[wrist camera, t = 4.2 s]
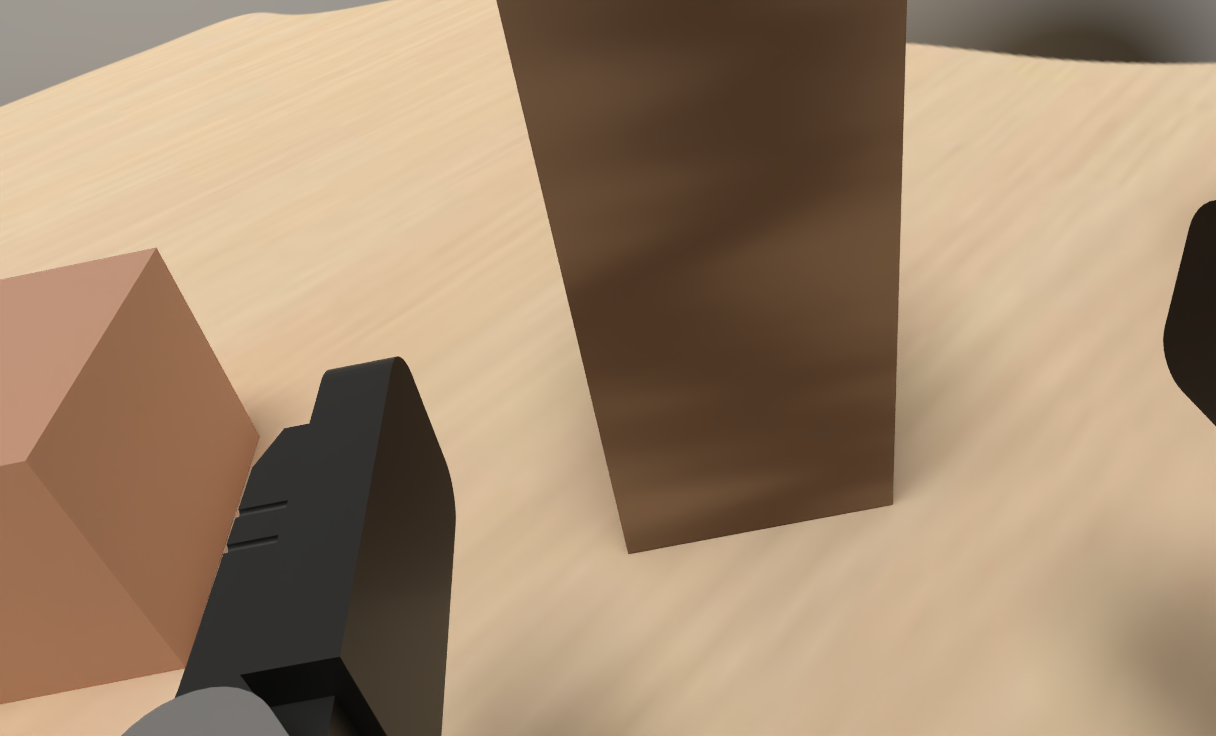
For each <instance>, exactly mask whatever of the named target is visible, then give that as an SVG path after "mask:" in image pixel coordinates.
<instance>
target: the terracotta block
mask: <svg viewBox="0 0 1216 736" xmlns="http://www.w3.org/2000/svg"><path fill="white" fill-rule="evenodd" d="M259 437H260V436H259V434H258V433H257V431H256V429H255V427H254V425H253V423H252V422H251V420H250V418H249V416H248V414H247V412H246V411H245V409H244V407H243V405H242V403H241V402H240V400H239V398H238V396H237V394H236V392H235V391H234V389H233V387H232V385H231V383H230V381H229V380H228V378H227V376H226V374H225V372H224V370H223V369H222V367H221V365H220V363H219V361H218V359H217V358H216V356H215V354H214V352H213V350H212V348H211V347H210V345H209V343H208V341H207V339H206V337H205V336H204V334H203V332H202V330H201V328H200V326H199V325H198V323H197V321H196V319H195V317H194V315H193V314H192V312H191V310H190V308H189V306H188V304H187V303H186V301H185V299H184V297H183V295H182V294H181V292H180V290H179V288H178V286H177V284H176V283H175V281H174V279H173V277H172V275H171V273H170V272H169V270H168V268H167V266H166V264H165V262H164V261H163V259H162V257H161V255H160V253H159V251H158V250H157V248H153V249H148V250H143V251H138V252H133V253H128V254H123V255H119V256H114V257H109V258H104V259H99V260H94V261H89V262H85V263H80V264H75V265H70V266H65V267H60V268H55V269H50V270H46V271H41V272H36V273H31V274H26V275H21V276H16V277H11V278H7V279H2V280H0V704H4V703H9V702H14V701H19V700H25V699H30V698H35V697H40V696H45V695H50V694H55V693H61V692H66V691H71V690H76V689H81V688H86V687H91V686H96V685H102V684H107V683H112V682H117V681H122V680H127V679H132V678H138V677H143V676H148V675H153V674H158V673H163V672H168V671H173V670H179V669H184V668H186V665H187V662H188V659H189V656H190V653H191V650H192V647H193V644H194V641H195V638H196V635H197V632H198V629H199V625H200V622H201V619H202V616H203V613H204V610H205V607H206V603H207V600H208V597H209V594H210V591H211V588H212V585H213V581H214V578H215V575H216V572H217V569H218V566H219V563H220V559H221V556H222V553H223V550H224V547H225V544H226V541H227V537H228V534H229V531H230V528H231V525H232V522H233V518H234V515H235V512H236V509H237V506H238V503H239V500H240V496H241V493H242V490H243V487H244V484H245V481H246V478H247V474H248V471H249V468H250V465H251V462H252V459H253V456H254V452H255V449H256V446H257V443H258V440H259Z"/></svg>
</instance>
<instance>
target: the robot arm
mask: <svg viewBox="0 0 1216 736" xmlns="http://www.w3.org/2000/svg"><path fill="white" fill-rule="evenodd" d="M1163 344H1164V353H1165V358H1166V362H1167V365H1168V368H1169V370H1170V373H1171V375H1172V377H1173V379H1174V381H1175V382H1176V384H1177V385H1178V387H1179V388H1180V389H1181V390H1182V391H1183V392H1184V393H1185V395H1186V396H1187V397H1188V398H1189V399H1190V400H1191V401H1192V402H1193V403H1194V404H1195V405H1196V406H1197V407H1198V408H1199V409H1200V410H1201V411H1202V412H1203V413H1204V414H1205V415H1206V416H1207V417H1208V418H1209V420H1210V421H1211V422H1212V423H1213V424H1214V425H1215V426H1216V200H1215V201H1210V202H1208V203H1206V204H1204V205H1203V206H1202V207H1200V208H1199V209H1198V211H1197V212H1196V213H1195V215H1194V217H1193V219H1192V221H1191V224H1190V227H1189V231H1188V235H1187V239H1186V243H1185V247H1184V251H1183V255H1182V259H1181V264H1180V268H1179V272H1178V276H1177V280H1176V284H1175V288H1174V292H1173V296H1172V300H1171V304H1170V308H1169V312H1168V316H1167V320H1166V324H1165V329H1164V338H1163ZM238 510H239V513H240V517H238V518H235V521H234V524H233V527H232V530H231V533H230V536H229V539H228V542H227V546H228V553H225V554H223V557H222V560H221V563H220V566H219V569H218V572H217V575H216V578H215V581H214V584H213V587H212V590H211V593H210V596H209V599H208V602H207V605H206V608H205V611H204V614H203V617H202V620H201V623H200V626H199V629H198V632H197V635H196V638H195V641H194V644H193V647H192V650H191V653H190V656H189V659H188V662H187V665H186V668H185V671H184V674H183V677H182V680H181V683H180V686H179V689H178V691H177V694H176V696H175V699H173V700H171V701H169V702H167V703H165V704H163V705H161V706H159V707H158V708H156V709H154V710H153V711H151V712H150V713H148V714H147V715H145V716H144V717H143V718H141V719H140V720H139V721H138V722H136V723H135V724H134V725H132V726H131V727H130V728H129V729H128V730H127V731H126V732H125V733H124V734H123V735H122V736H441V732H442V717H443V702H444V687H445V673H446V658H447V643H448V628H449V614H450V599H451V584H452V569H453V554H454V540H455V525H456V511H455V500H454V493H453V487H452V482H451V478H450V474H449V470H448V467H447V464H446V461H445V458H444V456H443V453H442V451H441V448H440V446H439V443H438V440H437V438H436V435H435V433H434V430H433V428H432V425H431V422H430V420H429V417H428V415H427V412H426V410H425V407H424V405H423V402H422V399H421V397H420V394H419V392H418V389H417V387H416V384H415V381H414V379H413V376H412V374H411V372H410V369H409V367H408V366H407V364H406V362H405V361H404V360H403V359H402V358H401V357H393V358H387V359H382V360H377V361H372V362H367V363H362V364H356V365H351V366H346V367H341V368H336V369H331V370H328V371H326V372H325V374H324V375H323V377H322V380H321V384H320V387H319V391H318V395H317V398H316V402H315V405H314V409H313V413H312V416H311V420H310V423H309V424H305V425H300V426H294V427H289V428H284V429H283V431H282V432H281V433H280V434H279V436H278V437H277V438H276V439H275V441H274V442H273V443H272V444H271V445H270V447H269V448H268V449H267V450H266V452H265V453H264V454H263V455H262V457H261V458H260V459H259V460H258V461H257V463H256V464H255V465H254V466H253V468H252V470H251V473H250V476H249V479H248V482H247V485H246V488H245V491H244V494H243V497H242V500H241V503H240V506H239V509H238Z"/></svg>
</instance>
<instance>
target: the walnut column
mask: <svg viewBox="0 0 1216 736" xmlns="http://www.w3.org/2000/svg"><path fill="white" fill-rule="evenodd" d="M497 5H498V9H499V13H500V17H501V21H502V26H503V30H504V34H505V38H506V42H507V47H508V51H509V55H510V59H511V63H512V68H513V72H514V76H515V80H516V84H517V89H518V93H519V97H520V101H521V105H522V110H523V114H524V118H525V122H526V126H527V130H528V135H529V139H530V143H531V147H532V151H533V156H534V160H535V164H536V168H537V172H538V177H539V181H540V185H541V189H542V193H543V198H544V202H545V206H546V210H547V214H548V219H549V223H550V227H551V231H552V235H553V240H554V244H555V248H556V252H557V256H558V261H559V265H560V269H561V273H562V277H563V282H564V286H565V290H566V294H567V298H568V303H569V307H570V311H571V315H572V319H573V323H574V328H575V332H576V336H577V340H578V344H579V349H580V353H581V357H582V361H583V365H584V370H585V374H586V378H587V382H588V386H589V391H590V395H591V399H592V403H593V407H594V412H595V416H596V420H597V424H598V428H599V433H600V437H601V441H602V445H603V449H604V454H605V458H606V462H607V466H608V470H609V475H610V479H611V483H612V487H613V491H614V496H615V500H616V504H617V508H618V512H619V516H620V521H621V525H622V529H623V533H624V537H625V542H626V546H627V550H628V554H630V553H635V552H640V551H646V550H651V549H656V548H662V547H667V546H673V545H678V544H683V543H689V542H694V541H699V540H705V539H710V538H715V537H721V536H726V535H731V534H737V533H742V532H747V531H753V530H758V529H764V528H769V527H774V526H780V525H785V524H790V523H796V522H801V521H806V520H812V519H817V518H822V517H828V516H833V515H838V514H844V513H849V512H855V511H860V510H865V509H871V508H876V507H881V506H887V505H892V504H893V473H894V437H895V402H896V367H897V332H898V296H899V261H900V226H901V191H902V155H903V120H904V85H905V50H906V14H907V0H497Z"/></svg>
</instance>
